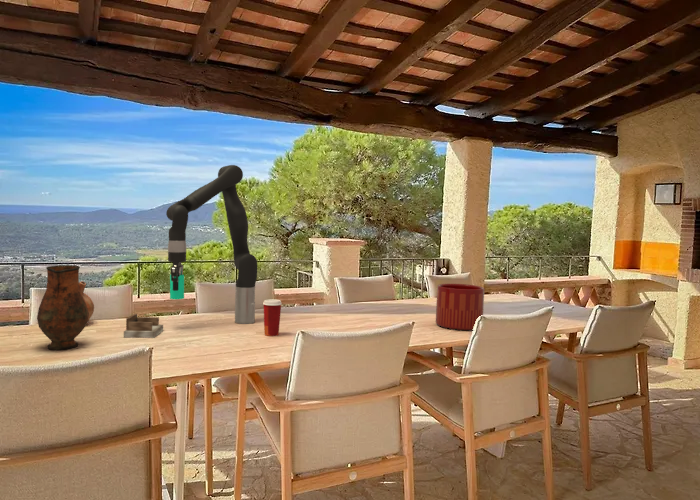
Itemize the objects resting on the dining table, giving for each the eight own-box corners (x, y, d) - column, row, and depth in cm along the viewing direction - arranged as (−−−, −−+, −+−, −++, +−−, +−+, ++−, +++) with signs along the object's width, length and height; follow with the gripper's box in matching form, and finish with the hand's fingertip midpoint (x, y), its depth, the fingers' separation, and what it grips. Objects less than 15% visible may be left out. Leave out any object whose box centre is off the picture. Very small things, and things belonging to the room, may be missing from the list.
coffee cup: (284, 333, 220) (285, 300, 219) (275, 337, 212) (276, 302, 211) (267, 331, 223) (268, 298, 222) (258, 335, 215) (259, 301, 214)
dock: (163, 330, 218) (163, 313, 218) (154, 337, 204) (154, 319, 204) (134, 329, 217) (134, 312, 216) (123, 337, 203) (123, 319, 203)
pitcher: (29, 353, 176) (29, 268, 174) (48, 339, 196) (49, 262, 194) (82, 351, 180) (82, 269, 178) (95, 337, 201) (95, 263, 199)
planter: (463, 333, 235) (466, 290, 233) (426, 324, 252) (427, 284, 251) (491, 328, 250) (493, 287, 249) (454, 320, 267) (455, 282, 266)
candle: (171, 297, 223) (171, 270, 222) (185, 297, 223) (185, 270, 222) (168, 299, 217) (168, 271, 216) (182, 299, 217) (182, 272, 216)
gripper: (182, 252, 212) (182, 292, 213) (189, 249, 226) (189, 287, 227) (164, 252, 211) (164, 292, 212) (172, 249, 225) (172, 287, 226)
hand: (177, 289), depth 220 cm, fingers closed on candle, 5 cm apart
